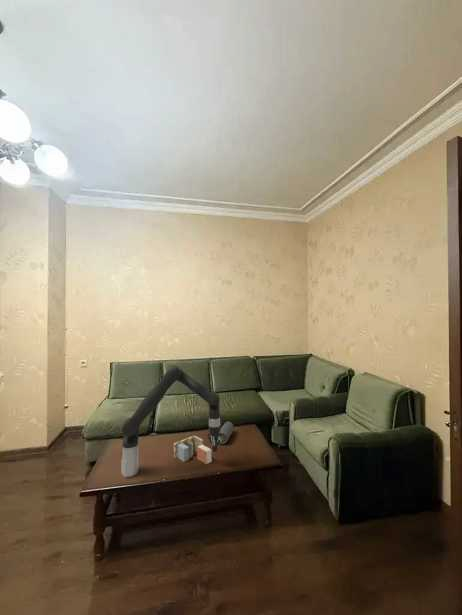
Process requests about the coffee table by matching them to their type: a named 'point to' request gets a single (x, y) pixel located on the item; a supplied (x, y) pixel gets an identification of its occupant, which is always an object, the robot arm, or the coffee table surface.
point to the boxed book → (204, 454)
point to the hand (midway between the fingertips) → (215, 451)
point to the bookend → (190, 448)
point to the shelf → (193, 439)
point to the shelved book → (183, 452)
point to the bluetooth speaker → (226, 432)
